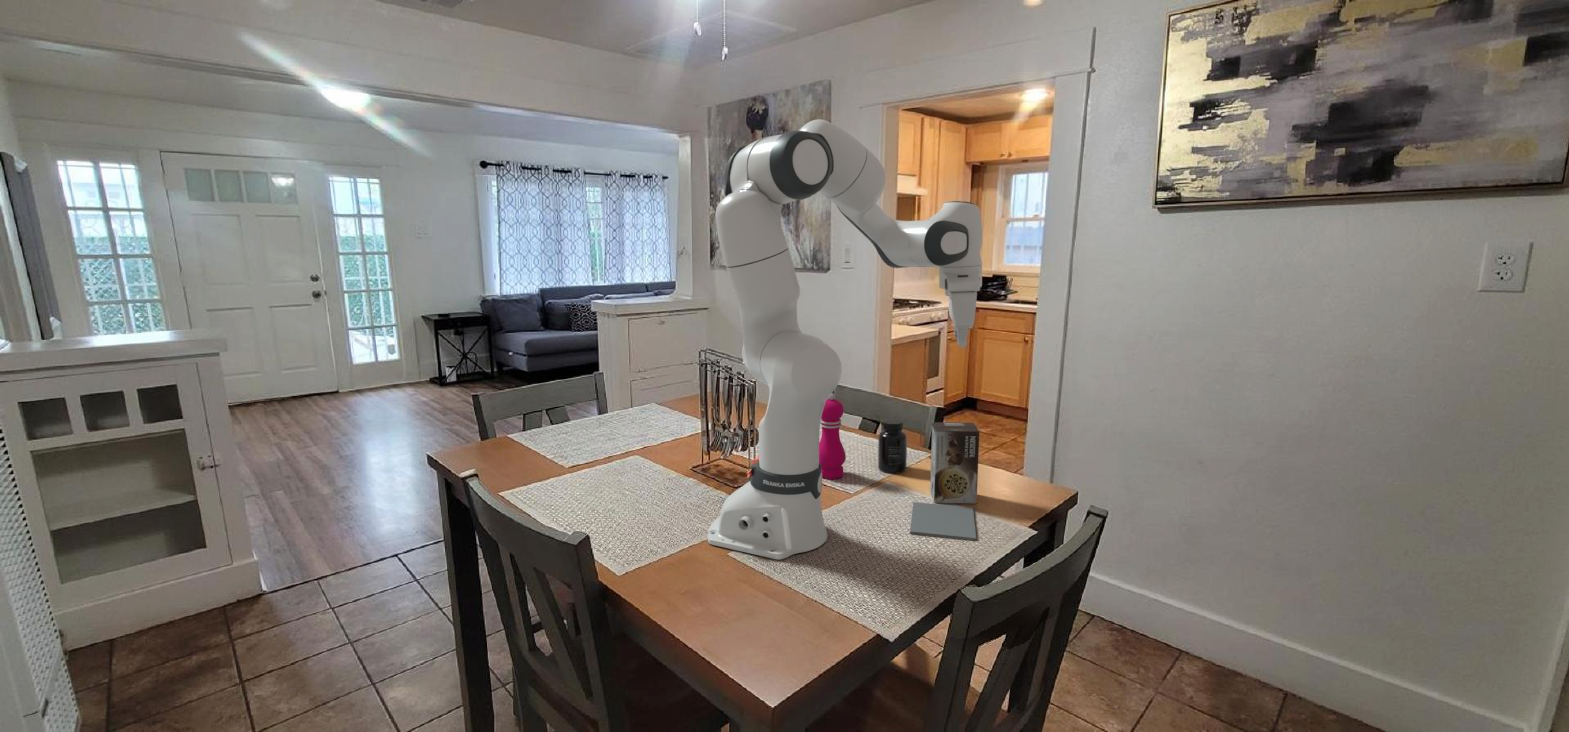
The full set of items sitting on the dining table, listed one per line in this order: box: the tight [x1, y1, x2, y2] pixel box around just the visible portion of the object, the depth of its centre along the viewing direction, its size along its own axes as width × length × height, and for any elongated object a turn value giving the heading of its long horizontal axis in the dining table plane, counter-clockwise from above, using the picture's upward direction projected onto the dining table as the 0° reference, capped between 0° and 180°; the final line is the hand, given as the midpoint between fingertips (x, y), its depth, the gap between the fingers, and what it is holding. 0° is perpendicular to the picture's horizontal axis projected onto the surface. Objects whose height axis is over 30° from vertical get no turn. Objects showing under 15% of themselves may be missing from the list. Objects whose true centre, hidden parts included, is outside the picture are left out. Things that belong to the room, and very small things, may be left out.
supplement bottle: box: [877, 418, 908, 474], centre depth 151 cm, size 7×7×12 cm
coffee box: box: [929, 421, 980, 505], centre depth 133 cm, size 9×6×16 cm
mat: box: [909, 501, 977, 541], centre depth 123 cm, size 12×14×1 cm
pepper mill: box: [819, 392, 847, 480], centre depth 147 cm, size 7×7×20 cm
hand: (960, 342), depth 137 cm, fingers open, 8 cm apart
